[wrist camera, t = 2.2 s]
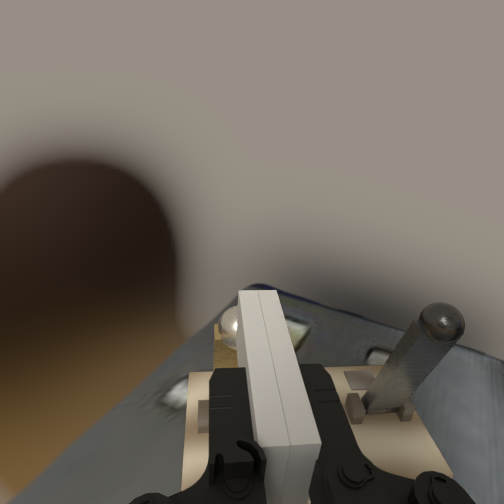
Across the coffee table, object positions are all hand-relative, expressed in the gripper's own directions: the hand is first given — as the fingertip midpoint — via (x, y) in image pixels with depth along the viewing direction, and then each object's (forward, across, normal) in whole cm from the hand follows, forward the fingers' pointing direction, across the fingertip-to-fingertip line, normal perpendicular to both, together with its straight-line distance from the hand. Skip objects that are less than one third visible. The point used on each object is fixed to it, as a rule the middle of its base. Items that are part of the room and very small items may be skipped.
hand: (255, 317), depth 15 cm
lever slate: (+10, +14, -18) cm, 25 cm away
